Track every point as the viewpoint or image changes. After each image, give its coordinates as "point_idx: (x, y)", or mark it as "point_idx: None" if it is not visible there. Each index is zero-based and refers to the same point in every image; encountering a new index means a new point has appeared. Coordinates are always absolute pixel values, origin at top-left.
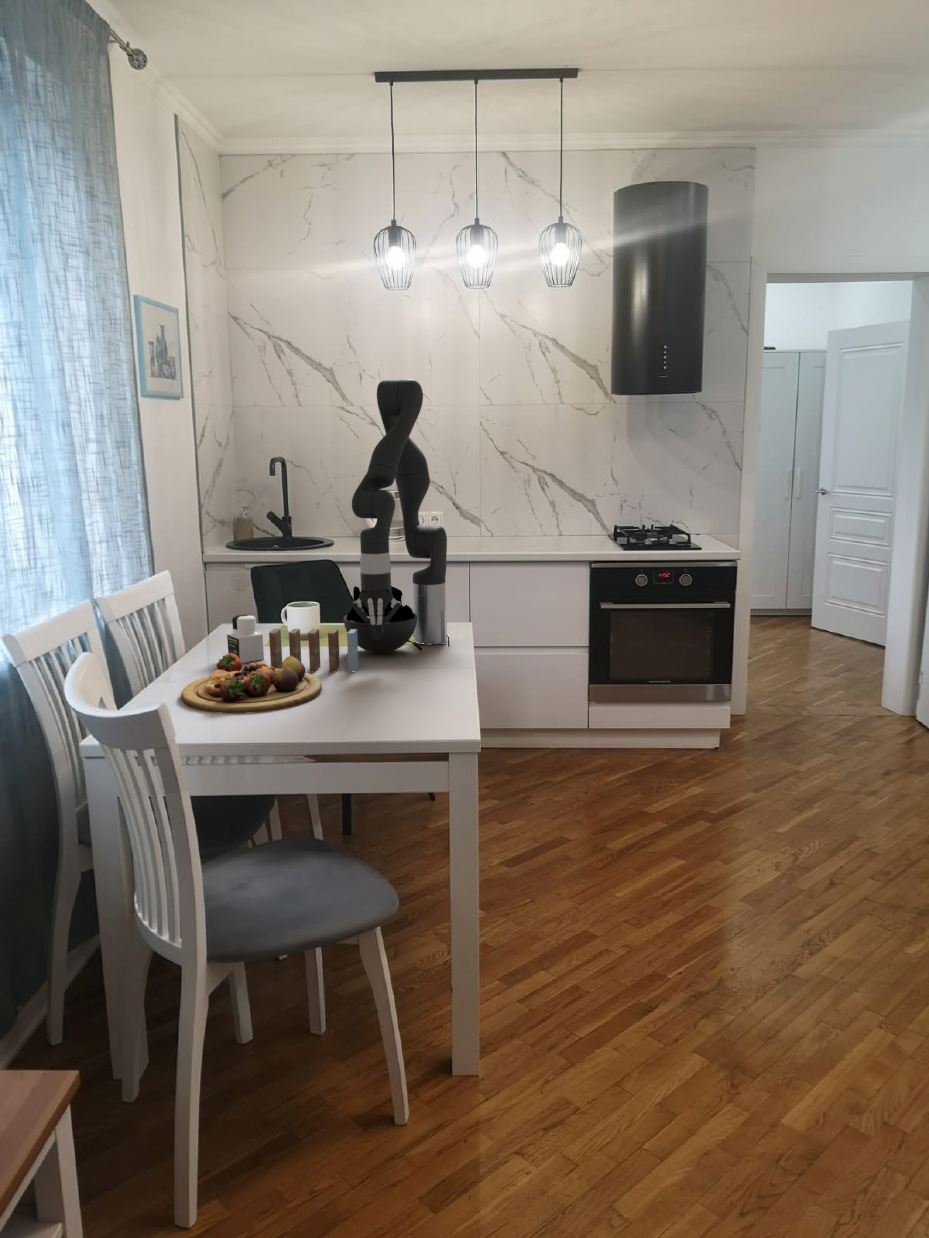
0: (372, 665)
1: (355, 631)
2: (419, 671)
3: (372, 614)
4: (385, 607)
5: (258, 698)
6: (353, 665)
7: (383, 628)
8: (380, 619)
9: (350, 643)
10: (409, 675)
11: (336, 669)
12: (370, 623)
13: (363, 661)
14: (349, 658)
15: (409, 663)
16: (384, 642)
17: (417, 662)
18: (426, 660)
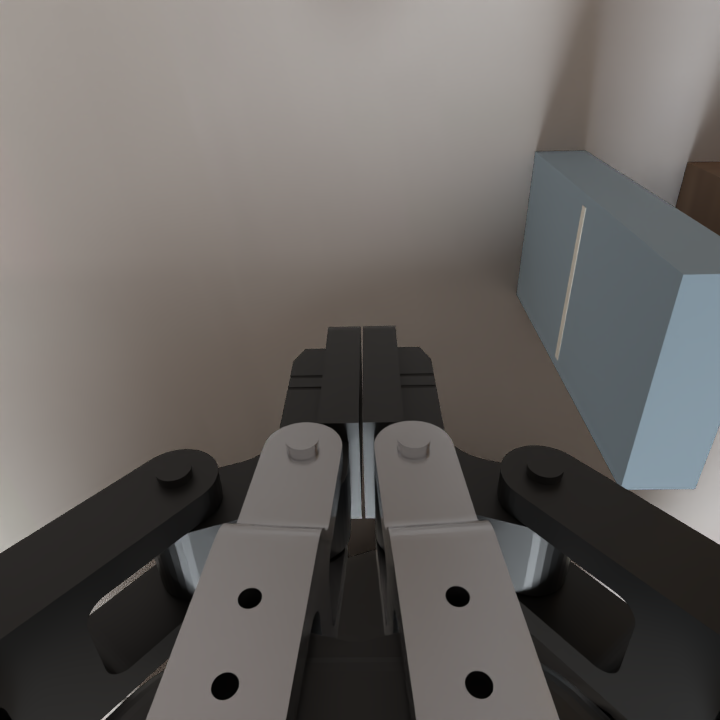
0: (424, 347)
1: (642, 403)
2: (45, 198)
3: (426, 530)
4: (111, 716)
5: None
6: (560, 165)
7: (367, 637)
8: (282, 484)
9: (665, 224)
10: (70, 61)
11: (684, 194)
12: (456, 452)
13: (494, 434)
14: (615, 179)
15: (195, 400)
16: (370, 561)
17: (153, 422)
18: (117, 463)
